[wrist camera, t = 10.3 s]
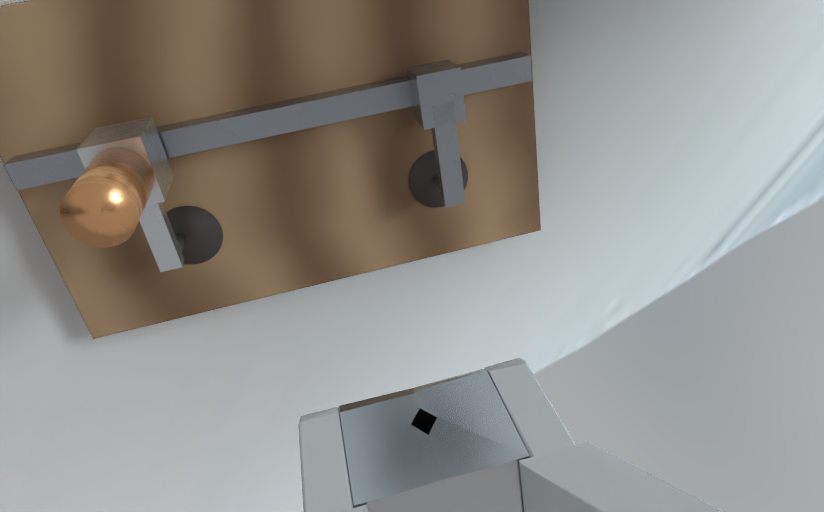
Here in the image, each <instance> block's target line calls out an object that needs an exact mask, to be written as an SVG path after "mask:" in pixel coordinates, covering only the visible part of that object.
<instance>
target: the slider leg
mask: <svg viewBox="0 0 824 512" xmlns="http://www.w3.org/2000/svg"><path fill="white" fill-rule="evenodd" d="M76 150H77V152H78V154H79V156H80V159H81V161H82V163H83V165H84V168H85V170H84V171H83V173H82V174H81V175H80V177H79V178H78V179H77V181H76V182H75V183H74V185H73V186H72V187H71V188H70V190H69V191H68V192H67V194H66V195H65V197H64V198H63V200H62V202H61V205H60V217H61V221H62V223H63V225H64V227H65V229H66V230H67V231H68V233H69V234H70V235H71V236H73V237H74V238H75V239H76V240H78V241H80V242H82V243H84V244H86V245H89V246H93V247H98V248H108V247H114V246H117V245H119V244H122V243H123V242H125V241H126V240H128V239H129V238H130V237H131V236H132V234H133V233H134V231H135V229H136V226H137V224H138V222H139V221H140V224H141V226H142V228H143V231H144V233H145V236H146V238H147V241H148V243H149V245H150V248H151V250H152V253H153V255H154V258H155V260H156V262H157V265H158V267H159V270H160V272H164V271H168V270H173V269H177V268H181V267H183V263H184V257H183V254H182V250H183V246H184V242H185V240H184V238H183V237H182V236H181V235H179V234H175V233H174V231H173V228H172V226H171V223H170V220H169V218H168V215H167V213H166V210H165V208H164V205H163V202H165V200H166V197H167V194H168V192H169V189H170V186H171V183H172V181H173V178H174V175H173V173H172V170H171V167H170V165H169V162H168V159H167V156H166V154H165V151H164V148H163V145H162V143H161V140H160V137H159V135H158V132H157V129H156V126H155V124H154V121H153V118H152V117H148V118H143V119H138V120H133V121H128V122H124V123H119V124H114V125H109V126H104V127H99V128H95V129H94V130H93V131H92V132H91V133H90V135H89V136H88V137H87V138H86V139H85V140H84V141H83V143H82V144H81V145H80V146H79V147H78V148H77V149H76Z"/></svg>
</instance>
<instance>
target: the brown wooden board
mask: <svg viewBox="0 0 824 512" xmlns="http://www.w3.org/2000/svg"><path fill="white" fill-rule="evenodd" d="M516 52H524V53H526V54H528V55H531V42H530V24H529V5H528V0H30V1H24V2H19V3H13V4H8V5H2V6H0V156H1V158H2V160H3V162H4V164H5V163H6V162H7V161H9V160H10V159H11V158H12V157H13V156H17V155H22V154H27V153H31V152H36V151H41V150H46V149H51V148H56V147H61V146H65V145H70V144H75V143H80V142H83V141H84V140H85V139H86V138H87V137H88V136H89V135H90V133H91V132H92V131H93V130H94V129H95V128H99V127H104V126H109V125H114V124H119V123H124V122H128V121H133V120H138V119H143V118H148V117H152V118H153V121H154V124H155V126H156V127H157V126H162V125H167V124H172V123H177V122H182V121H187V120H191V119H196V118H201V117H206V116H211V115H216V114H220V113H225V112H230V111H235V110H240V109H245V108H250V107H254V106H259V105H264V104H269V103H274V102H279V101H284V100H288V99H293V98H298V97H303V96H308V95H313V94H317V93H322V92H327V91H332V90H337V89H342V88H347V87H351V86H356V85H361V84H366V83H371V82H376V81H380V80H385V79H390V78H395V77H400V76H405V75H408V74H407V68H408V67H413V66H418V65H423V64H428V63H432V62H437V61H442V60H447V59H449V60H450V61H452V62H453V63H455V64H456V65H458V64H463V63H468V62H473V61H477V60H482V59H487V58H492V57H497V56H502V55H507V54H511V53H516ZM531 72H532V61H531ZM464 103H465V112H466V121H463V122H458V123H456V128H457V136H458V145H459V153H460V162H461V170H462V178H463V187H464V195H465V203H463V204H458V205H454V206H450V207H445V206H444V204H443V203H442V201H441V195H440V192H439V190H438V189H437V188H436V186H435V185H434V183H433V180H434V178H435V176H437V175H438V174H437V166H436V159H435V152H434V145H433V138H432V131H431V129H426V130H424V129H423V128H422V127H421V126H420V125H419V123H418V122H417V121H416V120H415V119H414V113H413V106H411V107H406V108H402V109H397V110H392V111H388V112H383V113H378V114H374V115H369V116H364V117H359V118H355V119H350V120H345V121H341V122H336V123H331V124H327V125H322V126H317V127H312V128H308V129H303V130H298V131H294V132H289V133H284V134H280V135H275V136H270V137H265V138H261V139H256V140H251V141H247V142H242V143H237V144H232V145H228V146H223V147H218V148H214V149H209V150H204V151H200V152H195V153H190V154H185V155H181V156H176V157H171V158H167V159H168V162H169V165H170V167H171V170H172V173H173V175H174V178H173V181H172V183H171V186H170V189H169V192H168V194H167V197H166V200H165V202H163V205H164V208H165V210H166V213H167V215H168V218H169V220H170V223H171V226H172V228H173V231H174V233H175V234H179V235H181V236H182V237H183V238H184V240H185V242H184V246H183V250H182V254H183V257H184V263H183V267H181V268H177V269H173V270H168V271H164V272H160V270H159V267H158V265H157V262H156V260H155V258H154V255H153V253H152V250H151V248H150V245H149V243H148V241H147V238H146V236H145V233H144V231H143V228H142V226H141V224H140V221H139V222H138V224H137V226H136V229H135V231H134V233H133V234H132V236H131V237H130V238H129V239H128V240H126V241H125V242H123V243H122V244H119V245H117V246H114V247H108V248H98V247H93V246H89V245H86V244H84V243H82V242H80V241H78V240H76V239H75V238H74V237H73V236H71V235H70V234H69V233H68V231H67V230H66V229H65V227H64V225H63V223H62V221H61V217H60V205H61V202H62V200H63V198H64V197H65V195H66V194H67V192H68V191H69V190H70V188H71V187H72V186H73V185H74V183H75V182H76V181H77V179H78V178H79V177H77V178H73V179H68V180H63V181H58V182H54V183H49V184H44V185H40V186H35V187H30V188H26V189H21V190H18V192H19V194H20V196H21V197H22V199H23V201H24V203H25V205H26V207H27V209H28V211H29V213H30V215H31V217H32V219H33V221H34V223H35V225H36V227H37V229H38V231H39V233H40V235H41V237H42V239H43V241H44V243H45V245H46V247H47V249H48V251H49V253H50V255H51V257H52V259H53V261H54V262H55V264H56V266H57V268H58V270H59V272H60V274H61V276H62V278H63V280H64V282H65V284H66V286H67V288H68V290H69V292H70V294H71V296H72V298H73V300H74V302H75V304H76V306H77V308H78V310H79V312H80V314H81V316H82V318H83V320H84V322H85V324H86V326H87V328H88V329H89V331H90V333H91V335H92V337H93V339H95V338H99V337H103V336H107V335H111V334H115V333H119V332H123V331H128V330H132V329H136V328H140V327H144V326H148V325H152V324H156V323H161V322H165V321H169V320H173V319H177V318H181V317H185V316H189V315H193V314H198V313H202V312H206V311H210V310H214V309H218V308H222V307H226V306H230V305H235V304H239V303H243V302H247V301H251V300H255V299H259V298H263V297H267V296H272V295H276V294H280V293H284V292H288V291H292V290H296V289H300V288H304V287H309V286H313V285H317V284H321V283H325V282H329V281H333V280H337V279H341V278H346V277H350V276H354V275H358V274H362V273H366V272H370V271H374V270H378V269H383V268H387V267H391V266H395V265H399V264H403V263H407V262H411V261H416V260H420V259H424V258H428V257H432V256H436V255H440V254H444V253H448V252H453V251H457V250H461V249H465V248H469V247H473V246H477V245H481V244H485V243H490V242H494V241H498V240H502V239H506V238H510V237H514V236H518V235H522V234H527V233H531V232H535V231H539V230H541V228H540V209H539V191H538V172H537V153H536V135H535V116H534V98H533V79H532V81H529V82H524V83H519V84H515V85H510V86H505V87H501V88H496V89H491V90H486V91H482V92H477V93H472V94H468V95H464Z"/></svg>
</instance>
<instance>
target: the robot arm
mask: <svg viewBox="0 0 824 512" xmlns="http://www.w3.org/2000/svg"><path fill="white" fill-rule="evenodd" d="M339 407H340V408H339ZM339 407H338V408H332V409H328V410H324V411H320V412H316V413H312V414H307V415H303V416H301V417H300V421H299V425H298V426H299V442H300V459H301V475H302V492H303V508H304V512H724V511H722V510H720V509H718V508H716V507H714V506H712V505H710V504H708V503H707V502H705V501H703V500H701V499H699V498H697V497H695V496H693V495H691V494H689V493H687V492H685V491H683V490H681V489H679V488H677V487H675V486H673V485H671V484H670V483H668V482H666V481H664V480H662V479H660V478H657V477H655V476H654V475H652V474H650V473H648V472H646V471H644V470H642V469H640V468H638V467H636V466H634V465H632V464H630V463H629V462H626V461H624V460H623V459H621V458H619V457H617V456H615V455H613V454H611V453H609V452H607V451H605V450H603V449H601V448H599V447H597V446H595V445H593V444H591V443H589V442H584V443H581V444H577V445H576V443H575V442H574V440H573V439H572V437H571V435H570V434H569V432H568V431H567V429H566V427H565V425H564V424H563V422H562V420H561V419H560V417H559V416H558V414H557V412H556V411H555V410H554V407H553V406H552V404H551V403H550V401H549V399H548V397H547V396H546V394H545V393H544V391H543V390H542V388H541V386H540V384H539V383H538V381H537V379H536V378H535V376H534V374H533V373H532V371H531V369H530V368H529V366H528V365H527V363H526V361H524V360H523V359H521V358H517V359H514V360H510V361H507V362H503V363H500V364H496V365H493V366H489V367H486V368H485V369H481V370H477V371H474V372H470V373H466V374H463V375H459V376H455V377H452V378H448V379H444V380H441V381H437V382H434V383H430V384H426V385H423V386H419V387H415V388H412V389H408V390H404V391H399V392H395V393H391V394H387V395H383V396H379V397H375V398H370V399H366V400H362V401H358V402H354V403H350V404H346V405H342V406H339Z"/></svg>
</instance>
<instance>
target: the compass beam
mask: <svg viewBox="0 0 824 512" xmlns="http://www.w3.org/2000/svg"><path fill="white" fill-rule="evenodd" d="M407 74H408V75H405V76H400V77H395V78H390V79H385V80H380V81H376V82H371V83H366V84H361V85H356V86H351V87H347V88H342V89H337V90H332V91H327V92H322V93H317V94H313V95H308V96H303V97H298V98H293V99H288V100H284V101H279V102H274V103H269V104H264V105H259V106H254V107H250V108H245V109H240V110H235V111H230V112H225V113H220V114H216V115H211V116H206V117H201V118H196V119H191V120H187V121H182V122H177V123H172V124H167V125H162V126H157V127H156V129H157V132H158V135H159V137H160V140H161V143H162V145H163V148H164V151H165V154H166V156H167V158H171V157H176V156H181V155H185V154H190V153H195V152H200V151H204V150H209V149H214V148H218V147H223V146H228V145H232V144H237V143H242V142H247V141H251V140H256V139H261V138H265V137H270V136H275V135H280V134H284V133H289V132H294V131H298V130H303V129H308V128H312V127H317V126H322V125H327V124H331V123H336V122H341V121H345V120H350V119H355V118H359V117H364V116H369V115H374V114H378V113H383V112H388V111H392V110H397V109H402V108H406V107H411V106H413V113H414V119H415V120H416V121H417V122H418V123H419V125H420V126H421V127H422V128H423V129H424V130H426V129H431V131H432V138H433V145H434V152H435V159H436V166H437V174H438V175H437V176H435V178H434V180H433V183H434V185H435V186H436V188H437V189H438V190H439V192H440V195H441V201H442V203H443V204H444V206H445V207H450V206H454V205H458V204H463V203H465V195H464V187H463V178H462V170H461V162H460V153H459V145H458V136H457V128H456V123H458V122H463V121H466V112H465V103H464V95H468V94H472V93H477V92H482V91H486V90H491V89H496V88H501V87H505V86H510V85H515V84H519V83H524V82H529V81H532V72H531V55H528V54H526V53H524V52H516V53H511V54H507V55H502V56H497V57H492V58H487V59H482V60H477V61H473V62H468V63H463V64H458V65H456V64H455V63H453V62H452V61H450V60H449V59H447V60H442V61H437V62H432V63H428V64H423V65H418V66H413V67H408V68H407ZM82 143H83V142H80V143H75V144H70V145H65V146H61V147H56V148H51V149H46V150H41V151H36V152H31V153H27V154H22V155H17V156H13V157H12V158H11V159H10V160H9V161H7V162H6V163H5V164H4V167H5V169H6V170H7V172H8V174H9V176H10V178H11V180H12V182H13V184H14V186H15V188H16V190H21V189H26V188H30V187H35V186H40V185H44V184H49V183H54V182H58V181H63V180H68V179H73V178H77V177H80V175H81V174H82V173H83V171H84V170H85V168H84V165H83V163H82V161H81V159H80V156H79V154H78V152H77V150H76V149H77V148H78V147H79V146H80V145H81V144H82Z"/></svg>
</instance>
